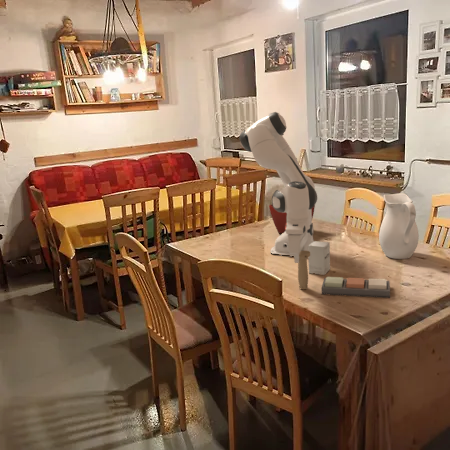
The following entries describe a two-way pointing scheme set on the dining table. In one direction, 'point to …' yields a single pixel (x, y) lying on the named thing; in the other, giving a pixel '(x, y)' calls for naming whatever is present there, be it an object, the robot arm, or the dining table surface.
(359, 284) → the key terracotta
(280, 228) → the plant pot
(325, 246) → the supplement box
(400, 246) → the pitcher
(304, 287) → the handle
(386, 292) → the keypad
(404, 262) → the dining table surface
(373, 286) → the key offwhite
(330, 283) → the key sage
